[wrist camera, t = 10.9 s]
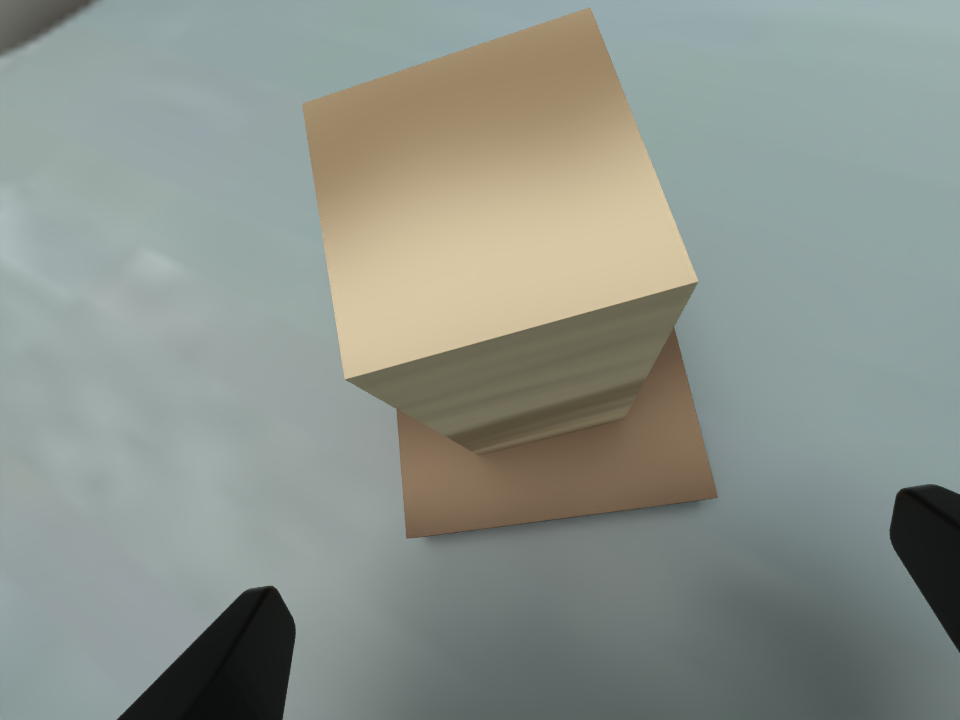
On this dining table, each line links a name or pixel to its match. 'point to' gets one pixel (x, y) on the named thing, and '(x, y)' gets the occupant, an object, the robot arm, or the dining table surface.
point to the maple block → (497, 238)
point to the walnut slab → (562, 465)
